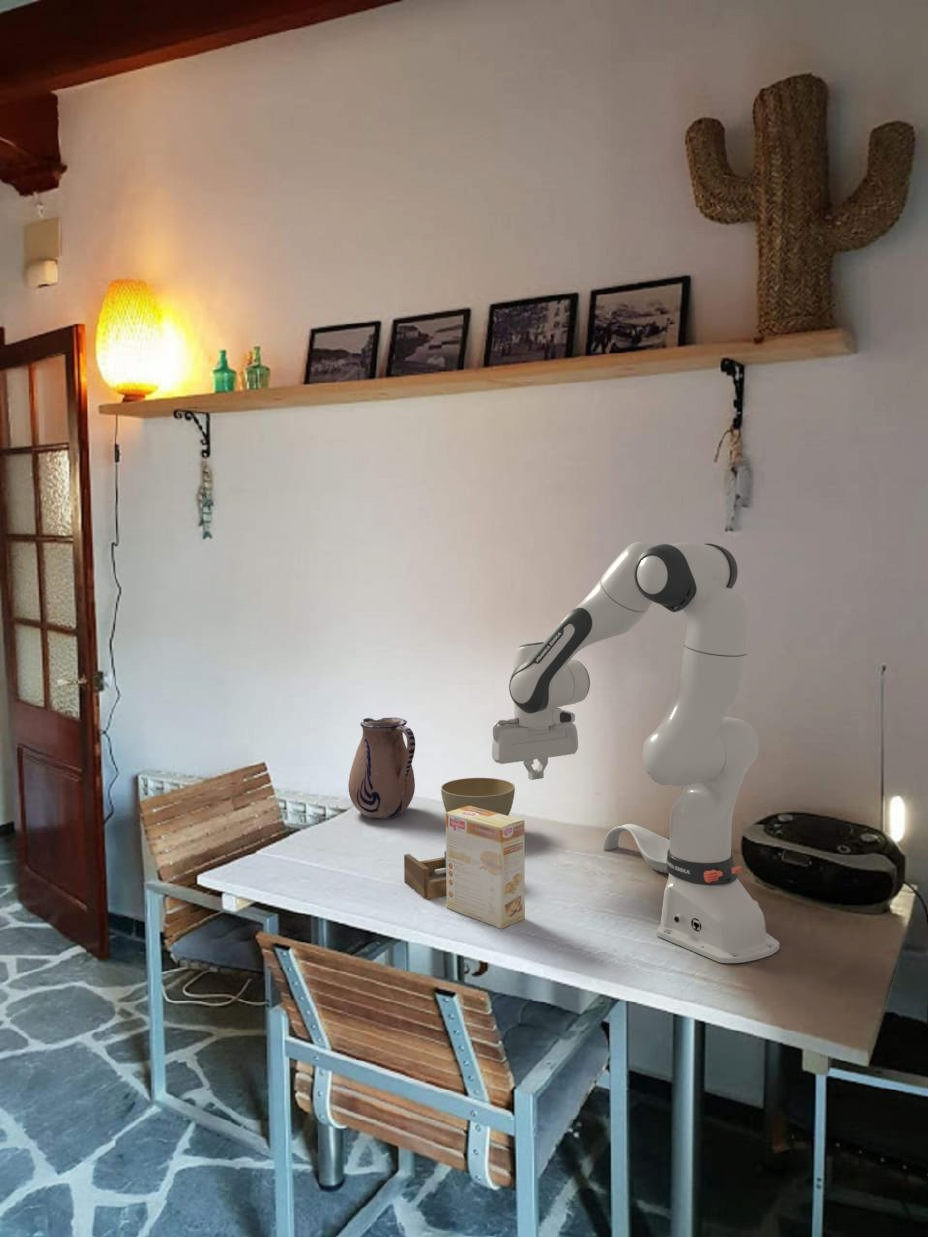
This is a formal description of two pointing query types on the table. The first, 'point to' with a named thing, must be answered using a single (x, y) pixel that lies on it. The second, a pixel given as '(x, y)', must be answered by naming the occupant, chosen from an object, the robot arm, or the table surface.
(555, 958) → the table surface
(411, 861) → the brown wooden frame
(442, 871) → the pusher
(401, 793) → the ceramic pitcher
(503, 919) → the coffeecake box
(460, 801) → the flower pot
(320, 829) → the table surface
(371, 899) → the table surface
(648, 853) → the spoon rest
